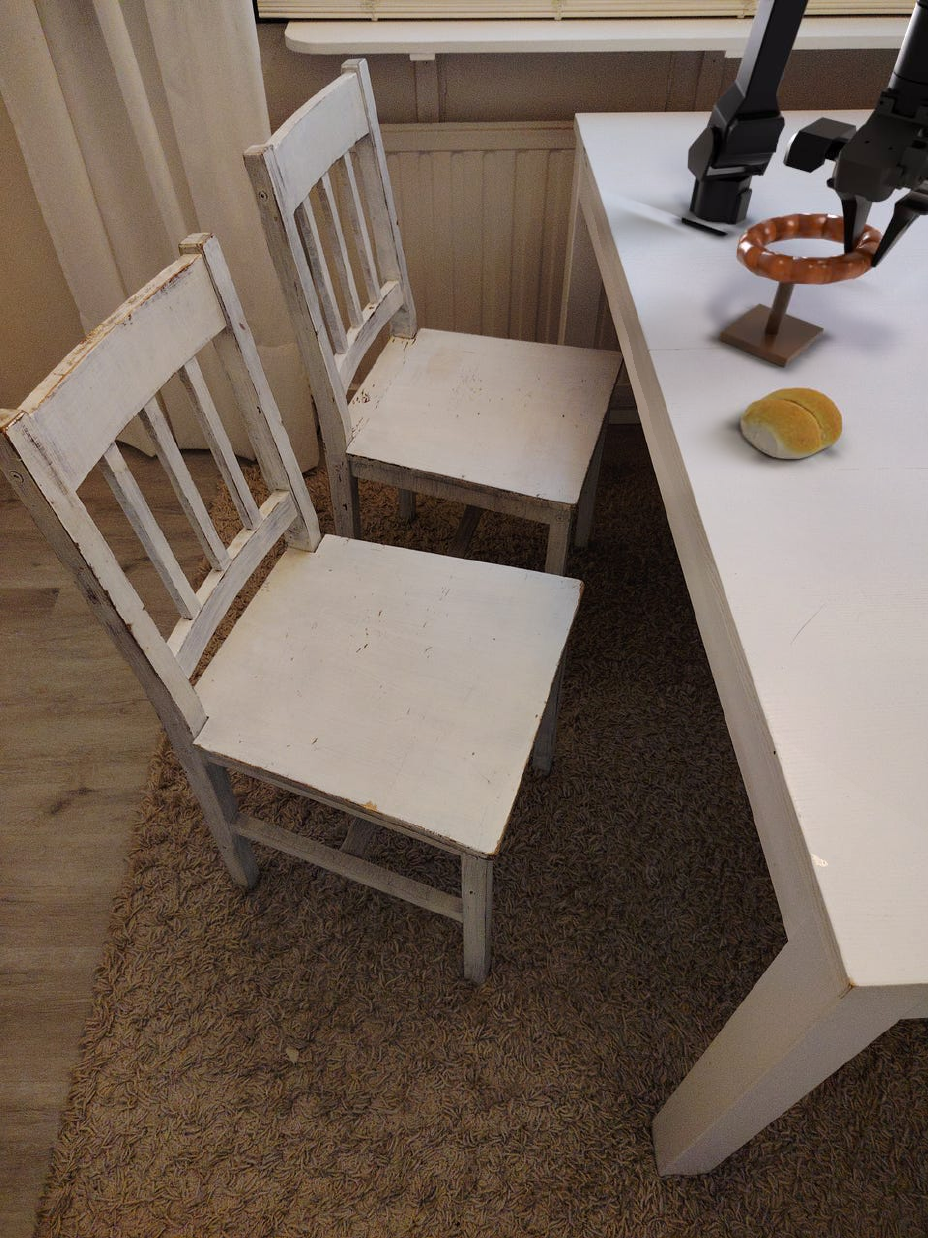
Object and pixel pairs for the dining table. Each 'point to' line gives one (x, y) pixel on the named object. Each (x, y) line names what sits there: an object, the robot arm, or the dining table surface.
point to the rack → (772, 330)
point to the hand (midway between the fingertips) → (861, 261)
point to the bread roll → (792, 423)
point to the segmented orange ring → (805, 268)
